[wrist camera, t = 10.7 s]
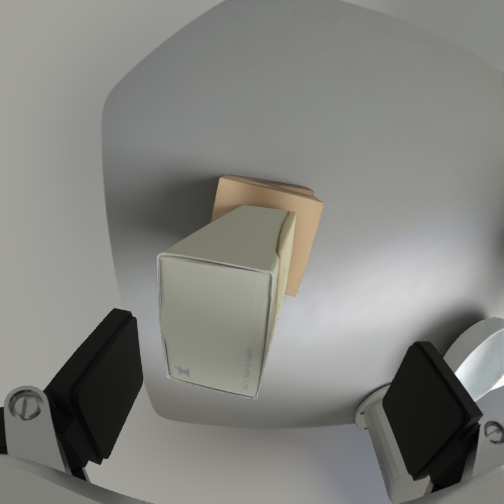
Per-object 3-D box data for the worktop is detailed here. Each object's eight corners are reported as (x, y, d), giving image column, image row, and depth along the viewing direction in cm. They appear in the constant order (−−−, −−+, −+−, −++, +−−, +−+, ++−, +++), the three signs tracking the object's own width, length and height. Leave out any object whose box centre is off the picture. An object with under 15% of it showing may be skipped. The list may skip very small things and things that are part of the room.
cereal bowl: (407, 385, 37) (423, 415, 30) (458, 297, 32) (485, 321, 25) (465, 384, 38) (481, 406, 31) (509, 311, 33) (531, 330, 26)
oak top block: (314, 196, 24) (324, 203, 21) (290, 277, 27) (295, 296, 23) (225, 174, 24) (219, 177, 20) (208, 259, 27) (200, 276, 23)
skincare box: (286, 287, 22) (260, 405, 11) (231, 278, 23) (165, 381, 12) (297, 208, 20) (281, 273, 9) (237, 200, 21) (152, 252, 9)
